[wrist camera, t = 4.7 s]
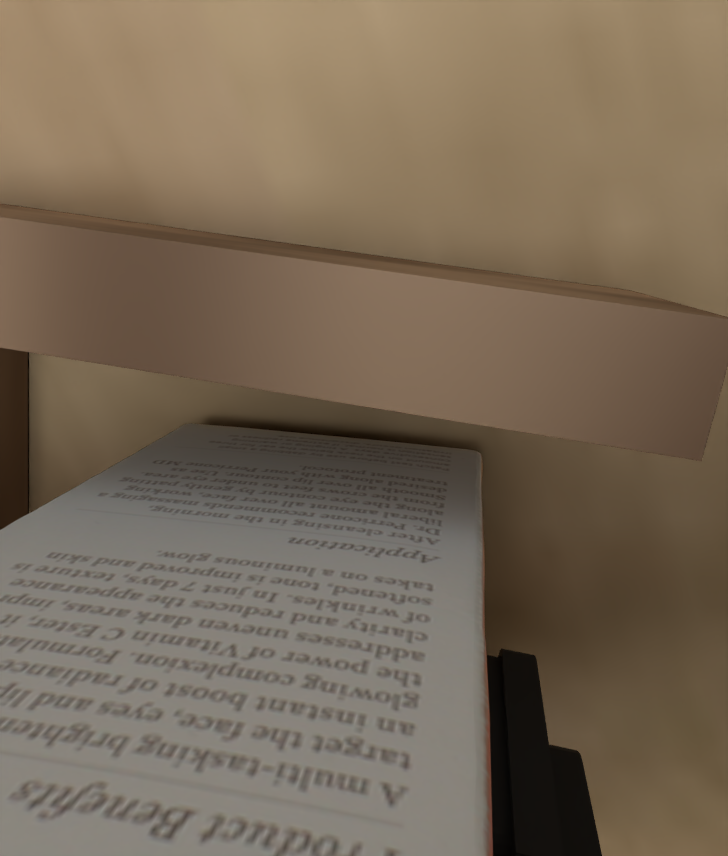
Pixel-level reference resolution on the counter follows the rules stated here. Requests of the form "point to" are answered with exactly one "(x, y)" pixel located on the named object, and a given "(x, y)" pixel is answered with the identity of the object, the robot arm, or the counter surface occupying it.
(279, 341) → the nook
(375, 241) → the counter surface
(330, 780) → the small box
